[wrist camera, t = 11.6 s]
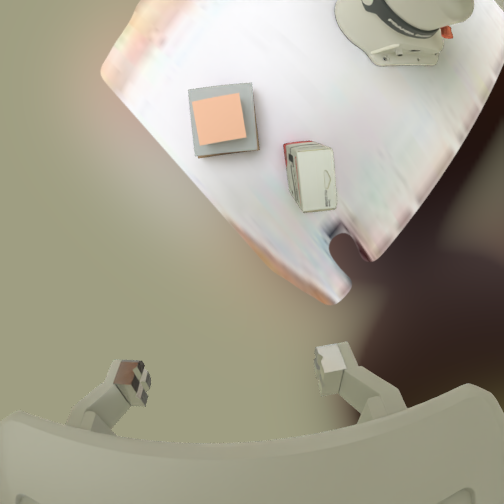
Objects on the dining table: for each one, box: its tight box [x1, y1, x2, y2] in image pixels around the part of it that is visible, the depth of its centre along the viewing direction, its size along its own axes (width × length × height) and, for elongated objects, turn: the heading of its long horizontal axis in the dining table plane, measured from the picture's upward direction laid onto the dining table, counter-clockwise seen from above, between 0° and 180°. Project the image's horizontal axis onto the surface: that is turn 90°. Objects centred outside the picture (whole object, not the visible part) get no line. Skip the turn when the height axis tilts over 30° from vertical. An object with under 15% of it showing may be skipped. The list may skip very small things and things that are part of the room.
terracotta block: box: [192, 93, 246, 146], centre depth 29 cm, size 5×5×6 cm
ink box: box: [283, 141, 337, 213], centre depth 39 cm, size 8×5×12 cm, turn 9°
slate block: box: [188, 83, 257, 156], centre depth 34 cm, size 8×9×5 cm
